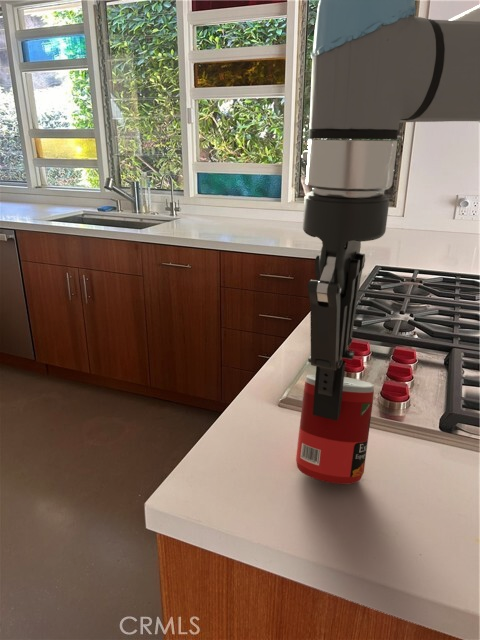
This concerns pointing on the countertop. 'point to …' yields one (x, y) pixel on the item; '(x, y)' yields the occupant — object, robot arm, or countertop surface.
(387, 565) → the countertop surface
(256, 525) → the countertop surface
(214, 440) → the countertop surface
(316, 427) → the canned food
